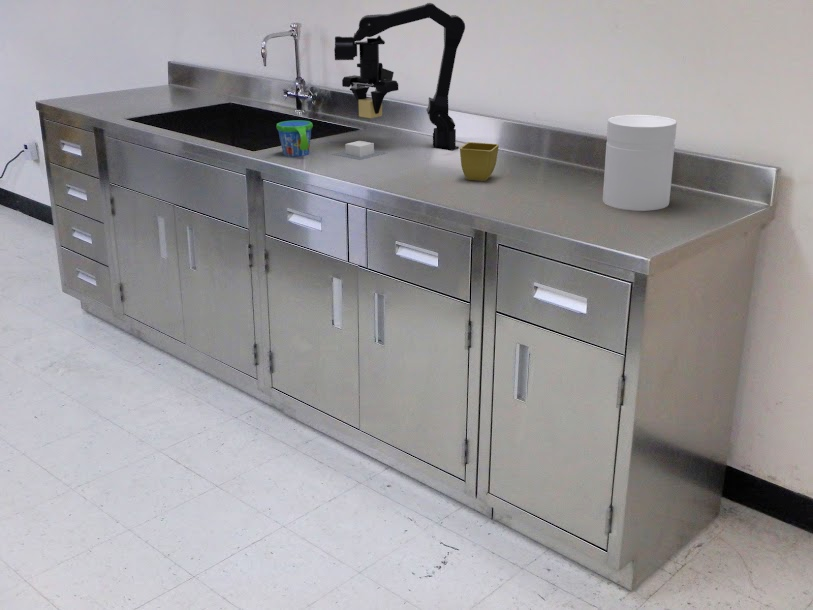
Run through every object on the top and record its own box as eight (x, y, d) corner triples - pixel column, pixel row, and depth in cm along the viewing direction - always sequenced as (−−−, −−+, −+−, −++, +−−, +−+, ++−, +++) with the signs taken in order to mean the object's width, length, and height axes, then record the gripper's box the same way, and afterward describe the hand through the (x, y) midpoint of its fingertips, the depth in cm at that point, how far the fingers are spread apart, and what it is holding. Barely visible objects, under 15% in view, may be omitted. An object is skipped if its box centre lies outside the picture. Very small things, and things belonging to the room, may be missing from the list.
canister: (628, 214, 223) (634, 129, 216) (589, 197, 237) (594, 117, 230) (682, 205, 229) (691, 123, 222) (642, 190, 243) (649, 112, 235)
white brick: (374, 153, 283) (373, 143, 282) (360, 156, 279) (359, 146, 277) (359, 150, 286) (359, 140, 285) (345, 153, 282) (345, 143, 281)
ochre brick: (382, 115, 287) (381, 99, 285) (370, 118, 284) (370, 101, 282) (370, 113, 290) (370, 97, 288) (358, 116, 287) (358, 99, 285)
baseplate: (388, 156, 283) (388, 152, 283) (360, 163, 275) (360, 159, 275) (359, 150, 291) (359, 147, 290) (331, 157, 282) (331, 154, 282)
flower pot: (498, 176, 259) (499, 143, 255) (490, 184, 251) (491, 150, 248) (467, 174, 261) (468, 141, 258) (458, 181, 254) (459, 148, 250)
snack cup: (273, 153, 289) (271, 120, 285) (306, 150, 292) (305, 117, 289) (285, 164, 275) (282, 129, 272) (320, 160, 279) (318, 126, 275)
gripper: (410, 59, 280) (411, 112, 286) (366, 54, 292) (367, 105, 298) (384, 63, 273) (385, 117, 278) (340, 58, 284) (341, 110, 290)
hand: (370, 112), depth 286 cm, fingers closed on ochre brick, 5 cm apart
